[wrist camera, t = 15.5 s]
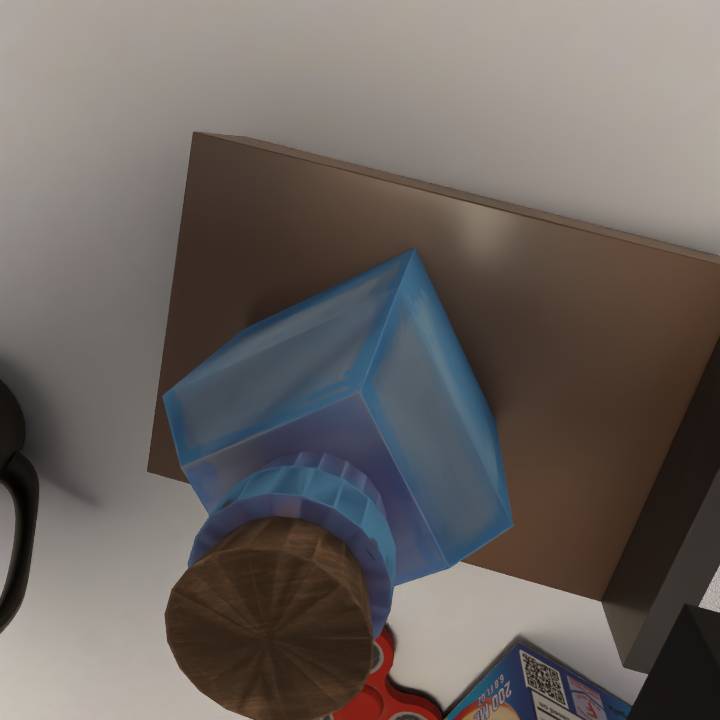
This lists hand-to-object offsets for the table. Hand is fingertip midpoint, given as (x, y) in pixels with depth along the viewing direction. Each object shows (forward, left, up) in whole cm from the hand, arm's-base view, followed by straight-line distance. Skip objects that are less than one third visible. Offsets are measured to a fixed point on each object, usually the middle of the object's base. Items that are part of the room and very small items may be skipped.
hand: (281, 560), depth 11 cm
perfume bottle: (0, 0, -11) cm, 11 cm away
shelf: (+2, 0, -15) cm, 16 cm away
